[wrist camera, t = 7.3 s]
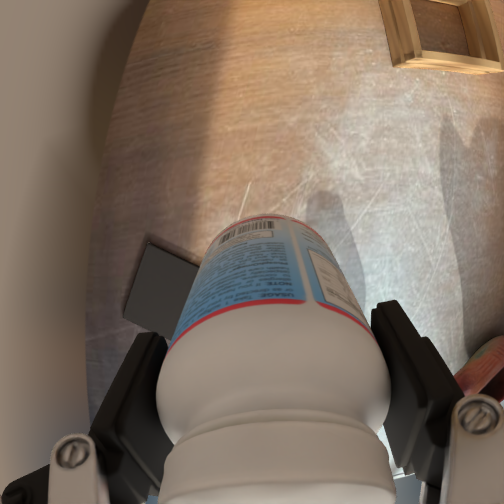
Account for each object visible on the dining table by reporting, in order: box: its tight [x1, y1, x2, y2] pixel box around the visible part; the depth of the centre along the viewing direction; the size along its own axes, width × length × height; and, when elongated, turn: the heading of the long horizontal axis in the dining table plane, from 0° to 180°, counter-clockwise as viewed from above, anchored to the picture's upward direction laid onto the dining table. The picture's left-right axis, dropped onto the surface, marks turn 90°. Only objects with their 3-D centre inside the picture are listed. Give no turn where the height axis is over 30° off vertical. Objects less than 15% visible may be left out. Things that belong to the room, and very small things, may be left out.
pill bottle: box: [156, 214, 396, 504], centre depth 10 cm, size 6×6×11 cm
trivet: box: [123, 243, 200, 340], centre depth 33 cm, size 10×10×1 cm
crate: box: [378, 0, 504, 75], centre depth 20 cm, size 11×9×5 cm
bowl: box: [454, 335, 504, 403], centre depth 33 cm, size 16×13×8 cm
